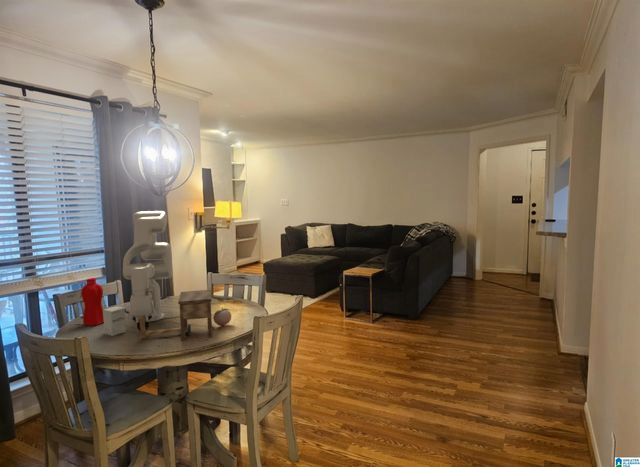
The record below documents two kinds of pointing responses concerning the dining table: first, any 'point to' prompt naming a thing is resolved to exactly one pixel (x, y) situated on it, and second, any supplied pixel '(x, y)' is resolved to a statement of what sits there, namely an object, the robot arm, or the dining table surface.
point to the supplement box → (114, 320)
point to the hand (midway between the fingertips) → (143, 329)
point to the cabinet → (195, 309)
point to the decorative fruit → (222, 317)
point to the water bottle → (92, 303)
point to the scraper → (145, 333)
